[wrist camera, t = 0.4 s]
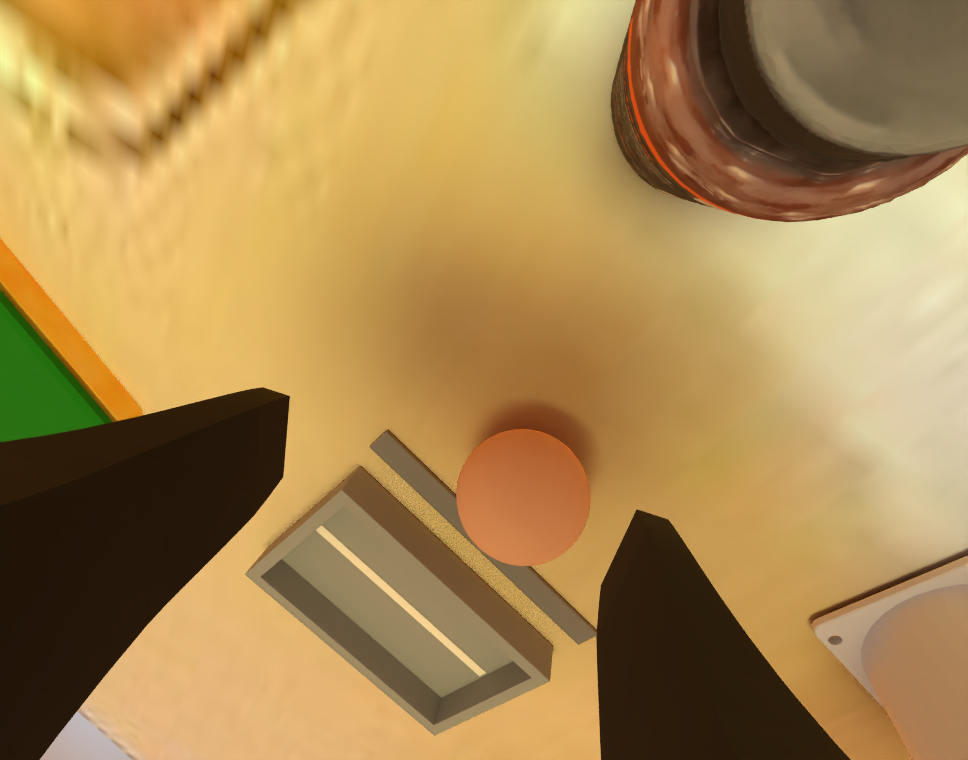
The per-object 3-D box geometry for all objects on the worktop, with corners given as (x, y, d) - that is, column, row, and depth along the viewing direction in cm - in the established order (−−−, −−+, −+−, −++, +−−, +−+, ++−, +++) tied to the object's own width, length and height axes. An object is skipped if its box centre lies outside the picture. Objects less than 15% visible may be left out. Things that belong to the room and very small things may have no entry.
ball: (616, 469, 21) (622, 554, 16) (527, 527, 23) (510, 618, 18) (533, 383, 20) (516, 447, 15) (449, 451, 22) (411, 525, 17)
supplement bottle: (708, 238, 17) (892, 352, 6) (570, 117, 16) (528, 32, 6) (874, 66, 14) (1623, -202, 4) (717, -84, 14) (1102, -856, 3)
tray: (552, 646, 25) (549, 681, 23) (444, 701, 28) (434, 735, 27) (360, 465, 23) (341, 490, 21) (267, 547, 26) (244, 574, 25)
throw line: (597, 631, 24) (597, 635, 24) (578, 641, 25) (578, 644, 24) (387, 429, 22) (386, 431, 22) (371, 444, 22) (369, 447, 22)
